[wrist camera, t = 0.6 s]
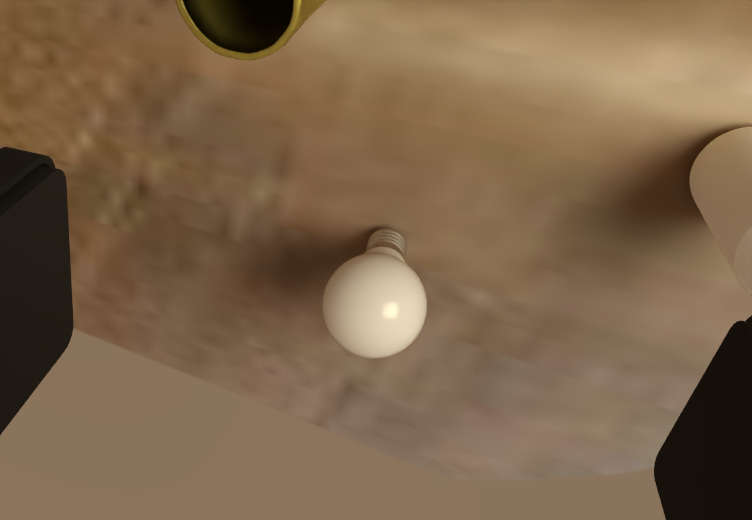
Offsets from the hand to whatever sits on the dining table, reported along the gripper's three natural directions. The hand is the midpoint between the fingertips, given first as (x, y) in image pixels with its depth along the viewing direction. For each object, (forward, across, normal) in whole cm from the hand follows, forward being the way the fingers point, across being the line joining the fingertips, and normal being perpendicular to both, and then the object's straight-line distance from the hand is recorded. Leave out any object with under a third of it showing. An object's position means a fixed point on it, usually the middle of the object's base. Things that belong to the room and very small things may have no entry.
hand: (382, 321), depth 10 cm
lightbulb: (+35, 0, +19) cm, 40 cm away
